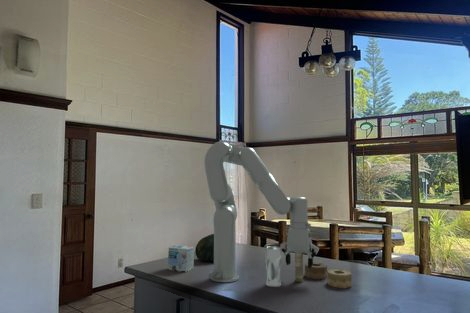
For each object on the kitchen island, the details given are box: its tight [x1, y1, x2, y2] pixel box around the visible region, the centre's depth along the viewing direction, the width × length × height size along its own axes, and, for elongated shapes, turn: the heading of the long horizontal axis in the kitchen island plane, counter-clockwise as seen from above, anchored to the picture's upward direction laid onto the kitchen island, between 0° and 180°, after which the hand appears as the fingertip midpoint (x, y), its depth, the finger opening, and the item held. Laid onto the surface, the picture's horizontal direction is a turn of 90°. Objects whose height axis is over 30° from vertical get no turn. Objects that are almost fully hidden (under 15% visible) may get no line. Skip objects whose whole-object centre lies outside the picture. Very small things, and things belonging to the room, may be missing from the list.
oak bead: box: [327, 268, 352, 289], centre depth 141 cm, size 9×9×5 cm
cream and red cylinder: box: [294, 252, 304, 283], centre depth 146 cm, size 3×3×14 cm
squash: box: [194, 233, 214, 262], centre depth 183 cm, size 14×15×15 cm
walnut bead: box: [304, 261, 328, 280], centre depth 153 cm, size 9×9×5 cm
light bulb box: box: [167, 244, 195, 273], centre depth 164 cm, size 11×7×11 cm, turn 68°
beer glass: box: [264, 245, 283, 288], centre depth 140 cm, size 7×7×15 cm
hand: (299, 265), depth 146 cm, fingers open, 9 cm apart
